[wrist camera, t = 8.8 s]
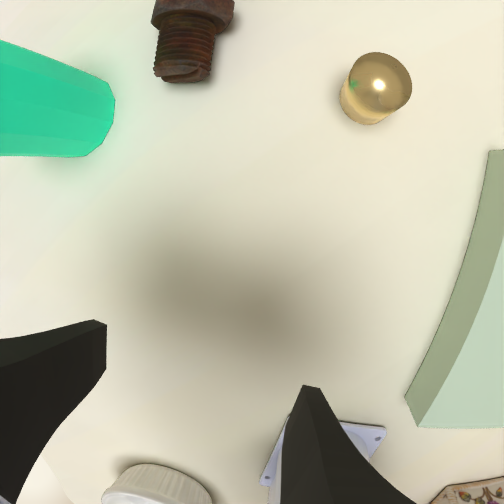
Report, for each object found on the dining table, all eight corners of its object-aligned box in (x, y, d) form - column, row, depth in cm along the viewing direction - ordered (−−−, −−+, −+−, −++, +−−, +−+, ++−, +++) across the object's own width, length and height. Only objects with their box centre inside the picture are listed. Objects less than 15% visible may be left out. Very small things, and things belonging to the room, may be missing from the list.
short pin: (384, 131, 16) (407, 119, 12) (335, 116, 17) (345, 99, 13) (392, 85, 16) (415, 64, 12) (344, 70, 16) (356, 44, 12)
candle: (121, 142, 18) (-35, 123, 7) (55, 169, 19) (-85, 178, 8) (111, 62, 17) (-20, 1, 6) (48, 96, 18) (-79, 72, 7)
